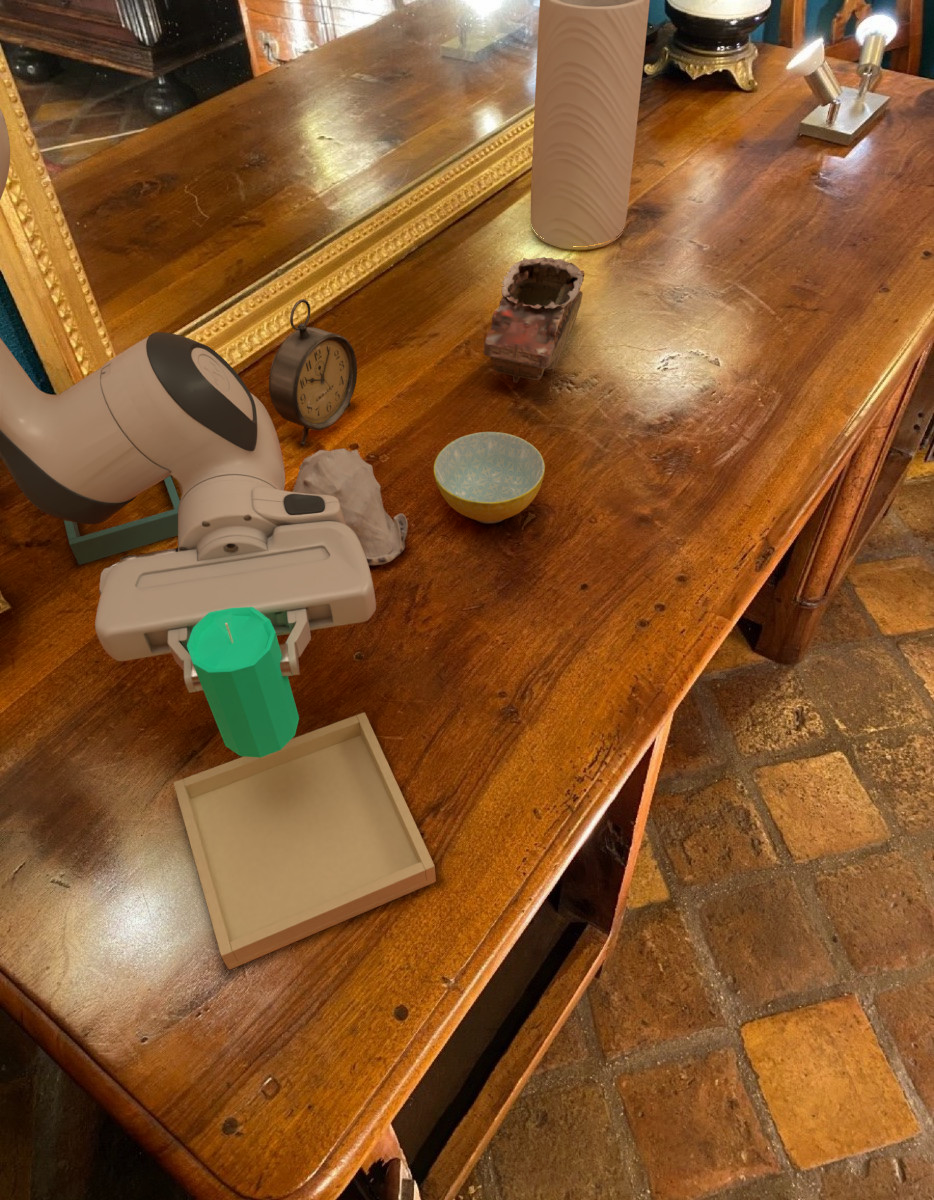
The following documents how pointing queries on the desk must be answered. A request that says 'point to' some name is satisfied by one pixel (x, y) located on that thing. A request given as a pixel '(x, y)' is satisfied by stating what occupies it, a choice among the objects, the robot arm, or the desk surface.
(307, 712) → the desk surface
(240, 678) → the candle
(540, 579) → the desk surface
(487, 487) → the bowl
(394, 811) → the tray
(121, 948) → the desk surface
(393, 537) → the seashell
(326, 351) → the alarm clock
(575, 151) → the vase
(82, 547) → the frame
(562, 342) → the decorative box
